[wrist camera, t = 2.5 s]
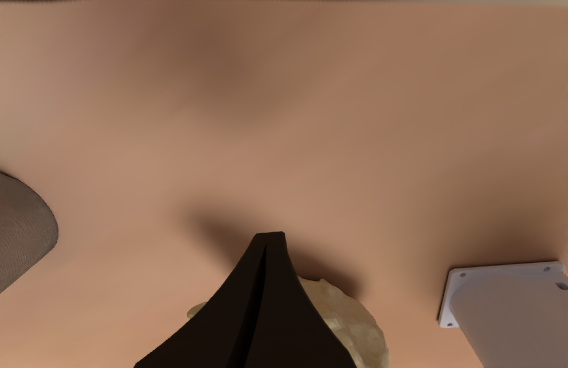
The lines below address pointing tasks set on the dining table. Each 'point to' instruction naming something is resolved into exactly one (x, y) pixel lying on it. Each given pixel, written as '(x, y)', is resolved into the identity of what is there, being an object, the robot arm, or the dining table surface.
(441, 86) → the dining table surface
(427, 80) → the dining table surface
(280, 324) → the robot arm
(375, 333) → the cheese
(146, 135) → the dining table surface
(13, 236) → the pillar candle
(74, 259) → the dining table surface
